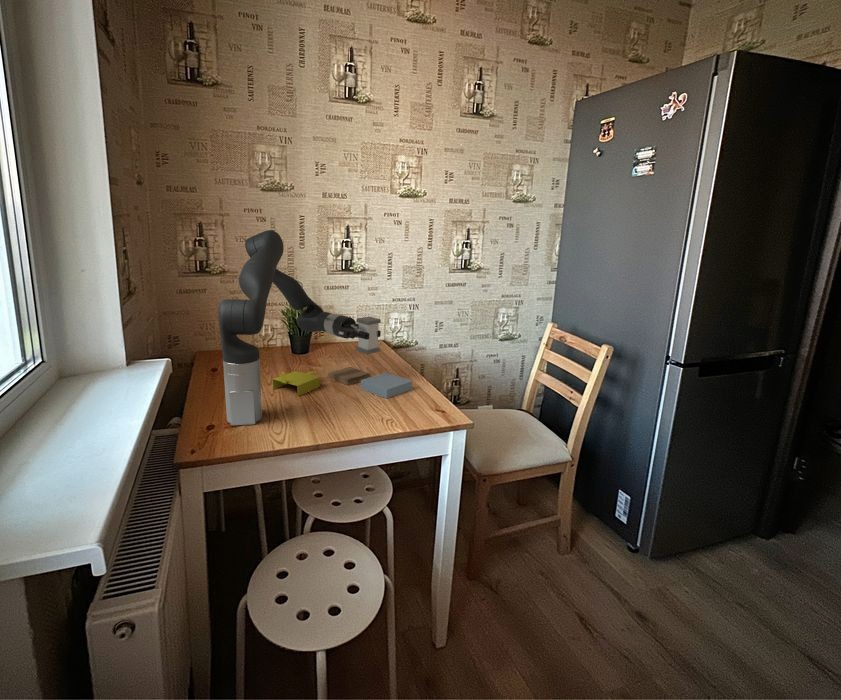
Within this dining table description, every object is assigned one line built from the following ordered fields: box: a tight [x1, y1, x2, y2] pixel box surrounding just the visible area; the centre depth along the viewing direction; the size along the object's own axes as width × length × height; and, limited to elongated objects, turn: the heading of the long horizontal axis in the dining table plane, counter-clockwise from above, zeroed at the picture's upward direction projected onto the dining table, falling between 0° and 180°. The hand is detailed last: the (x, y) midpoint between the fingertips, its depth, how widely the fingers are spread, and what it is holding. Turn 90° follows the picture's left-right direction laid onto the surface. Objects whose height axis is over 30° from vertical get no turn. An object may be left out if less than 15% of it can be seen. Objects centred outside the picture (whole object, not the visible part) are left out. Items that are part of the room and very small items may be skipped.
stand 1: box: [328, 366, 371, 386], centre depth 171 cm, size 10×10×2 cm
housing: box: [355, 316, 382, 355], centre depth 162 cm, size 6×6×11 cm
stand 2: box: [360, 372, 413, 400], centre depth 162 cm, size 12×12×3 cm
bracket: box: [272, 370, 321, 397], centre depth 160 cm, size 16×8×15 cm
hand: (374, 335), depth 160 cm, fingers closed on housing, 4 cm apart
